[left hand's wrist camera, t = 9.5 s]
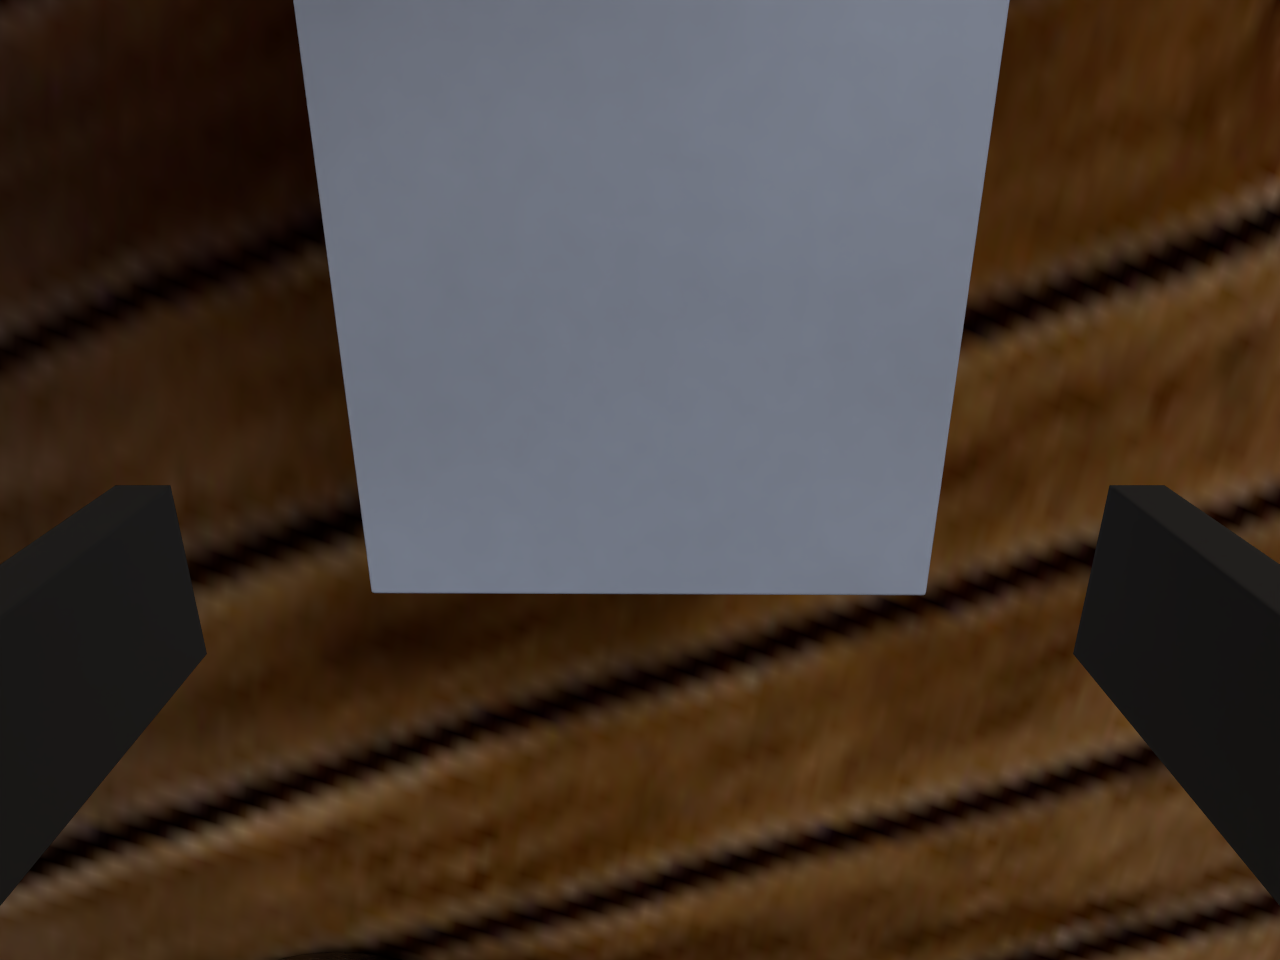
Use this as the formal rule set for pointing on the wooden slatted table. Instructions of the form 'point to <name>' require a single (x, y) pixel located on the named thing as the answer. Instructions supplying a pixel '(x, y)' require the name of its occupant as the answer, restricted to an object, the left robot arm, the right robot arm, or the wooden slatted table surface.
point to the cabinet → (650, 284)
